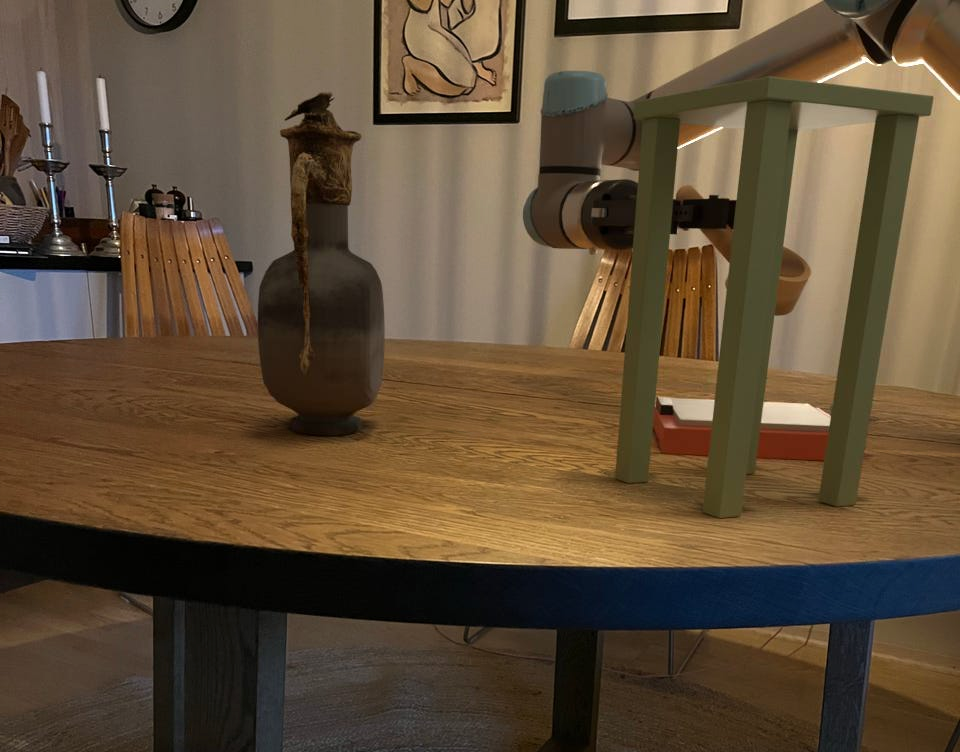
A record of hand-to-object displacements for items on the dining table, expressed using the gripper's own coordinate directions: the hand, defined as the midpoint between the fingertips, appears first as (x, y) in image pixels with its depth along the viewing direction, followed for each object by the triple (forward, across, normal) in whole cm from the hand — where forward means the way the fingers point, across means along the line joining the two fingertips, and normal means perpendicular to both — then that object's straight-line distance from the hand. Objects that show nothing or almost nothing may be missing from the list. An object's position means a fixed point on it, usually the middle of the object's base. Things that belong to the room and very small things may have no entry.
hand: (736, 214), depth 100 cm
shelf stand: (+22, +15, -21) cm, 34 cm away
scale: (+4, -1, -21) cm, 22 cm away
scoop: (-1, 0, -4) cm, 4 cm away
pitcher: (-12, +38, -22) cm, 45 cm away
